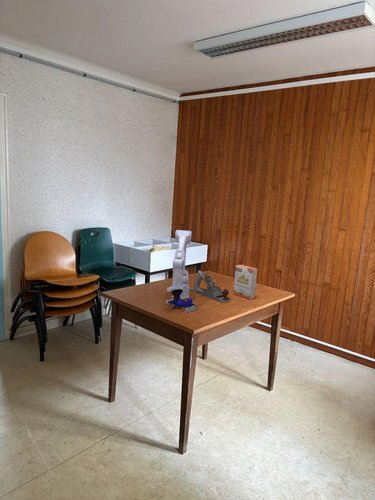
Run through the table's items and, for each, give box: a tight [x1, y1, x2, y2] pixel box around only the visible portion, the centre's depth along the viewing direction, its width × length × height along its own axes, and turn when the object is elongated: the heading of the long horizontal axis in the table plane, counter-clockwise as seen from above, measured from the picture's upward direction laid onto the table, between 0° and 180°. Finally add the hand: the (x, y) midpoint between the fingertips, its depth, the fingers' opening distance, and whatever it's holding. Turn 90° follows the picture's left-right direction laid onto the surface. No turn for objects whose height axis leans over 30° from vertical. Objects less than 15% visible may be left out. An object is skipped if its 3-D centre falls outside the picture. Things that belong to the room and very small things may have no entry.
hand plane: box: [189, 270, 232, 304], centre depth 247 cm, size 9×33×15 cm, turn 41°
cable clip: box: [172, 297, 193, 309], centre depth 221 cm, size 12×4×6 cm, turn 46°
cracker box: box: [233, 264, 258, 300], centre depth 249 cm, size 14×6×21 cm, turn 45°
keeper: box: [165, 298, 199, 313], centre depth 220 cm, size 9×18×3 cm, turn 46°
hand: (176, 301), depth 216 cm, fingers closed
